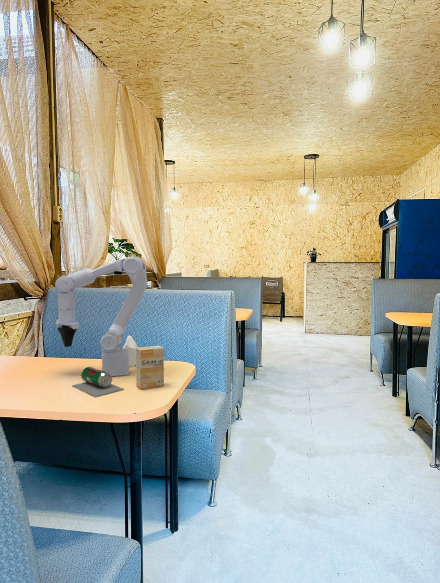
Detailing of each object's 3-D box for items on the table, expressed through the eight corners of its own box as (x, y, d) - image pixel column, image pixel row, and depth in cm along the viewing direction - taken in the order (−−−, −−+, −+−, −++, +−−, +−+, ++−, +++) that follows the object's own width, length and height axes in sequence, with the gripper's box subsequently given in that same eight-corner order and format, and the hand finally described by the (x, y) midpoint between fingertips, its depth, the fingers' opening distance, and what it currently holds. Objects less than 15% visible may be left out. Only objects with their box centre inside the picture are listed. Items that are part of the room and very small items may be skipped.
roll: (132, 337, 154) (119, 336, 156) (132, 367, 155) (120, 366, 157) (139, 334, 160) (127, 333, 162) (140, 363, 161) (128, 362, 162)
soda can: (77, 377, 134) (96, 384, 126) (85, 363, 136) (104, 370, 128) (88, 383, 137) (108, 390, 129) (96, 370, 139) (115, 376, 131)
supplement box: (140, 390, 127) (139, 350, 127) (136, 386, 132) (135, 347, 131) (164, 386, 131) (164, 347, 130) (159, 382, 136) (159, 344, 135)
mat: (72, 386, 132) (72, 385, 132) (99, 379, 139) (99, 379, 139) (95, 397, 121) (95, 396, 121) (123, 389, 128) (123, 388, 128)
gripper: (47, 308, 146) (48, 345, 147) (64, 312, 136) (65, 351, 137) (66, 307, 151) (67, 342, 152) (84, 310, 141) (85, 348, 142)
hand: (67, 346), depth 145 cm, fingers closed
